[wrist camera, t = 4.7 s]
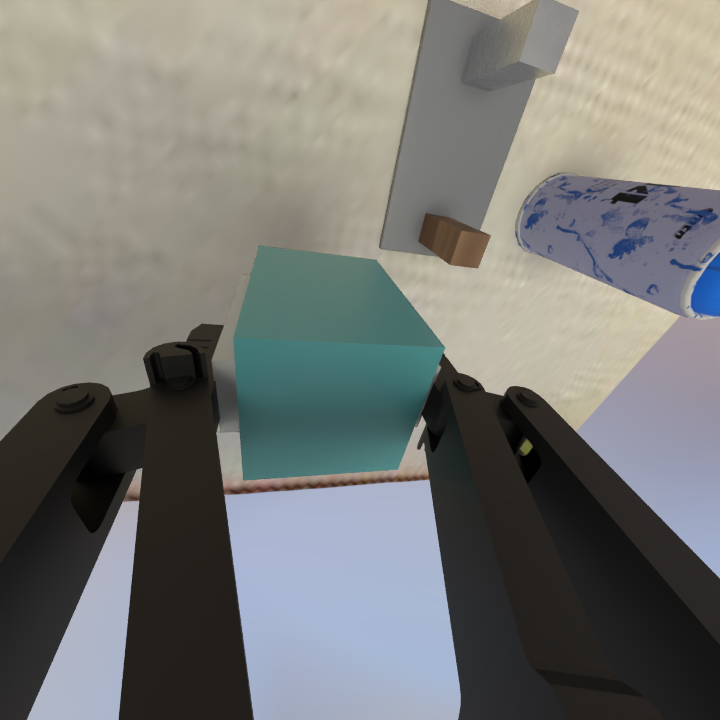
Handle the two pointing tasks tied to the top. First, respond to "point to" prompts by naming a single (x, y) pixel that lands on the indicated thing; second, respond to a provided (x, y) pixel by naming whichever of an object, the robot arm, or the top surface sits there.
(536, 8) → the grey post
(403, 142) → the board
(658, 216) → the aerosol can
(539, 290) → the top surface
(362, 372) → the teal rectangular block
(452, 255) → the walnut post
